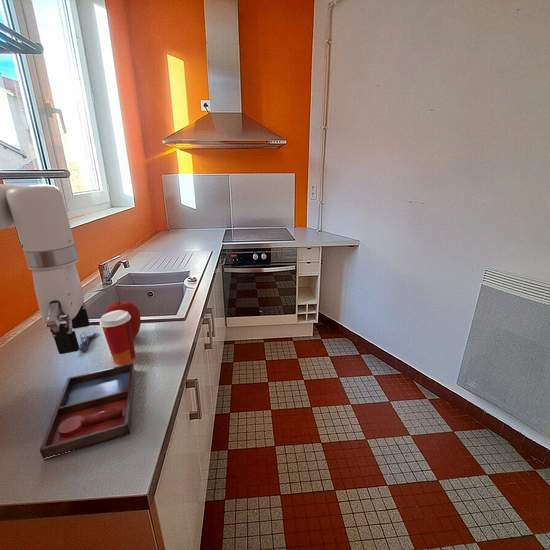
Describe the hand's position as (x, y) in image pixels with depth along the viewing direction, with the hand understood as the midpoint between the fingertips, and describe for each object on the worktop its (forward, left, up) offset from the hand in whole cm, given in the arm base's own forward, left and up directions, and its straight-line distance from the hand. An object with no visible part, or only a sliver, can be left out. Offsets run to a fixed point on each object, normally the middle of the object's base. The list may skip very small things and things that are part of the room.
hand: (75, 338), depth 60 cm
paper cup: (+4, +20, -20) cm, 29 cm away
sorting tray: (-1, +2, -20) cm, 20 cm away
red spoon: (0, -3, -19) cm, 19 cm away
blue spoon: (-8, +34, -20) cm, 41 cm away
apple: (+4, +32, -20) cm, 38 cm away
